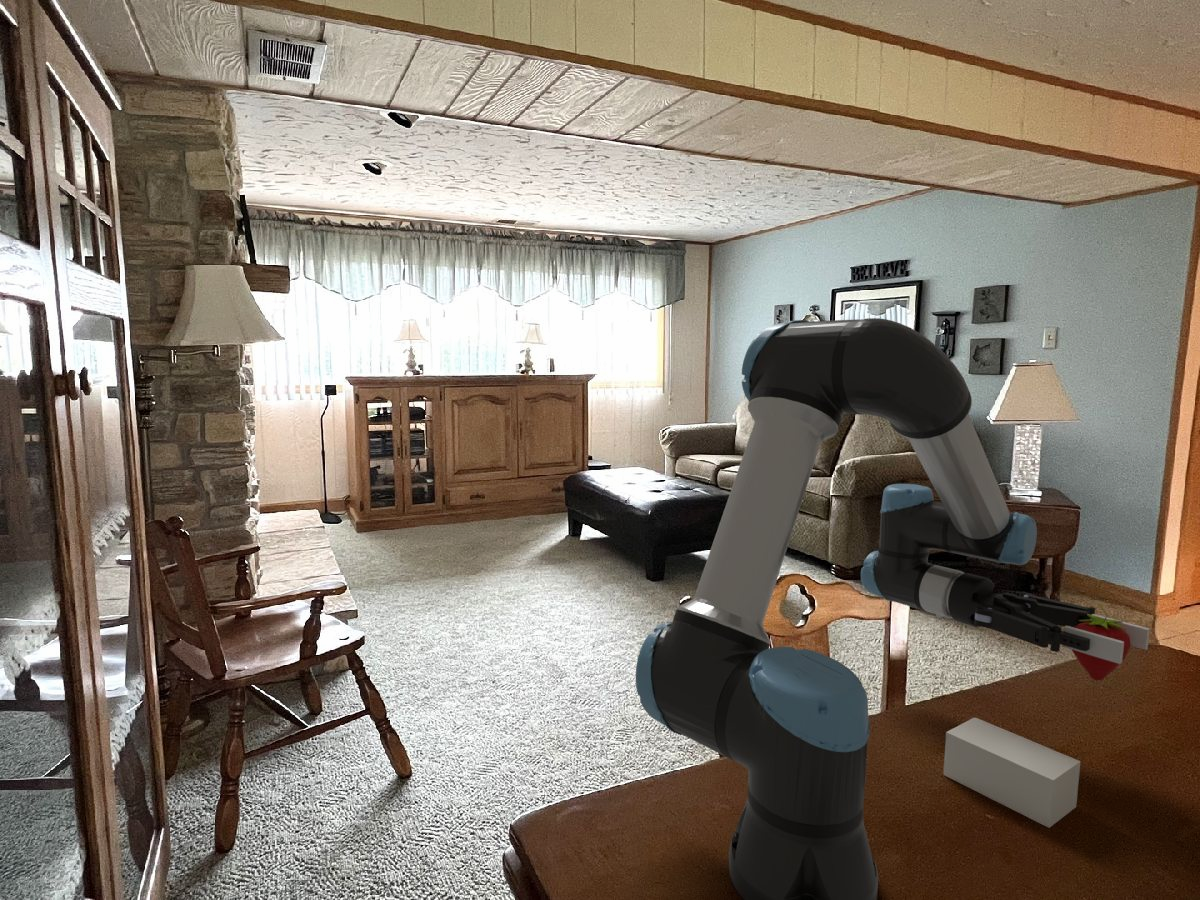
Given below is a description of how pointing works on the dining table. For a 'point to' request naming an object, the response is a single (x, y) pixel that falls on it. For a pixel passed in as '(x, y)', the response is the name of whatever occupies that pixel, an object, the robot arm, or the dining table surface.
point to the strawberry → (1105, 628)
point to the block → (1012, 770)
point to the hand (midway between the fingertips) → (1134, 645)
